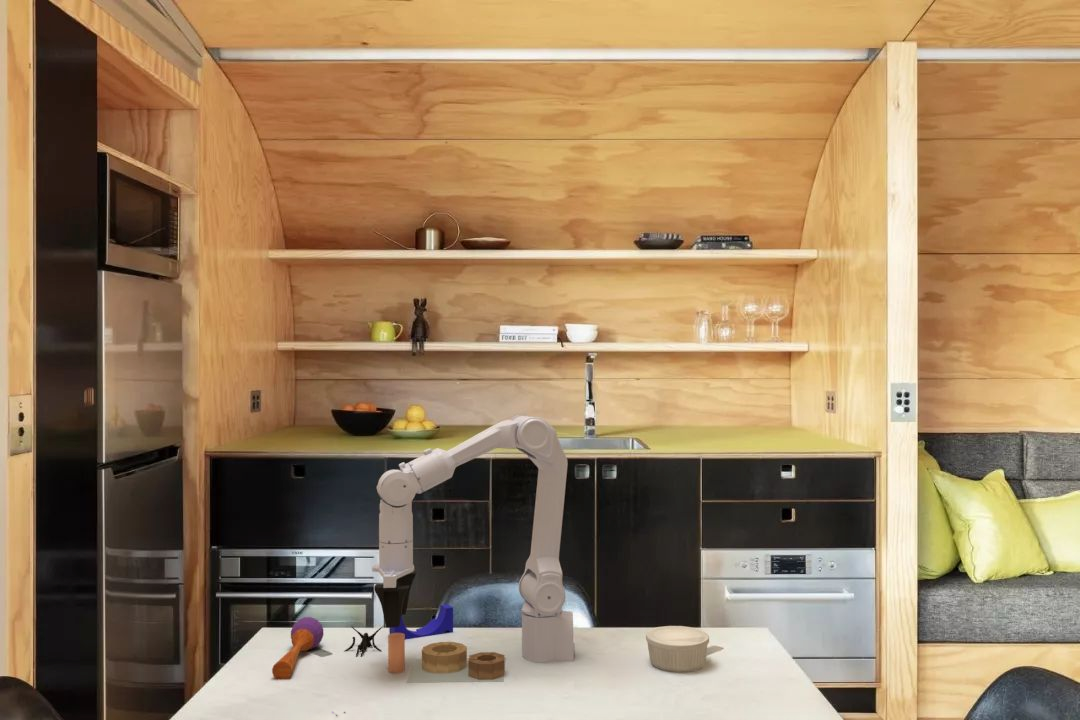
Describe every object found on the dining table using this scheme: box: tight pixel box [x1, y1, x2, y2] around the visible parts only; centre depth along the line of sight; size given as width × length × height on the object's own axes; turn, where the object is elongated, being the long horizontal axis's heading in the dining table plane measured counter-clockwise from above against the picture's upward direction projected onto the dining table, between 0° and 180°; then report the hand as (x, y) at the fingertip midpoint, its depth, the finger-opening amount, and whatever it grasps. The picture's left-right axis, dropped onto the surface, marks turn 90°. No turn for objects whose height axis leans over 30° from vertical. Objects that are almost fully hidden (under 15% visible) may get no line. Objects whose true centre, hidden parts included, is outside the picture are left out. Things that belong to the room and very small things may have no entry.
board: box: [406, 657, 506, 684], centre depth 150 cm, size 16×12×1 cm
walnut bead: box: [468, 651, 506, 680], centre depth 148 cm, size 6×6×3 cm
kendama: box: [271, 616, 324, 680], centre depth 159 cm, size 6×6×20 cm
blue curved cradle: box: [388, 603, 454, 641], centre depth 171 cm, size 12×4×6 cm, turn 118°
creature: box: [343, 625, 384, 658], centre depth 161 cm, size 8×5×8 cm
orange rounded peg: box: [387, 633, 406, 674], centre depth 150 cm, size 3×3×7 cm
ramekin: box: [645, 625, 710, 673], centre depth 156 cm, size 11×11×5 cm
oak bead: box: [421, 641, 468, 674], centre depth 152 cm, size 8×8×3 cm
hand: (396, 620), depth 150 cm, fingers open, 7 cm apart
